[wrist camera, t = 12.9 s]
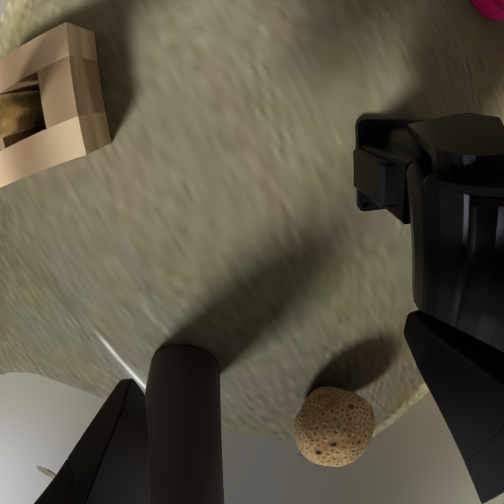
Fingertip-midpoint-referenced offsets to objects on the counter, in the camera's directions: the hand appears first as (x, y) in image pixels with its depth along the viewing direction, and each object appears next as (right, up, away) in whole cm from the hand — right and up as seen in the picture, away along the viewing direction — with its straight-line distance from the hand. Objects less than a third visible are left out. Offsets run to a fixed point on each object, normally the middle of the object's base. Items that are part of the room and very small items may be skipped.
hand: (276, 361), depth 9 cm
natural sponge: (+8, -13, +23) cm, 27 cm away
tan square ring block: (-14, +13, +6) cm, 20 cm away
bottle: (-7, -8, +19) cm, 22 cm away
